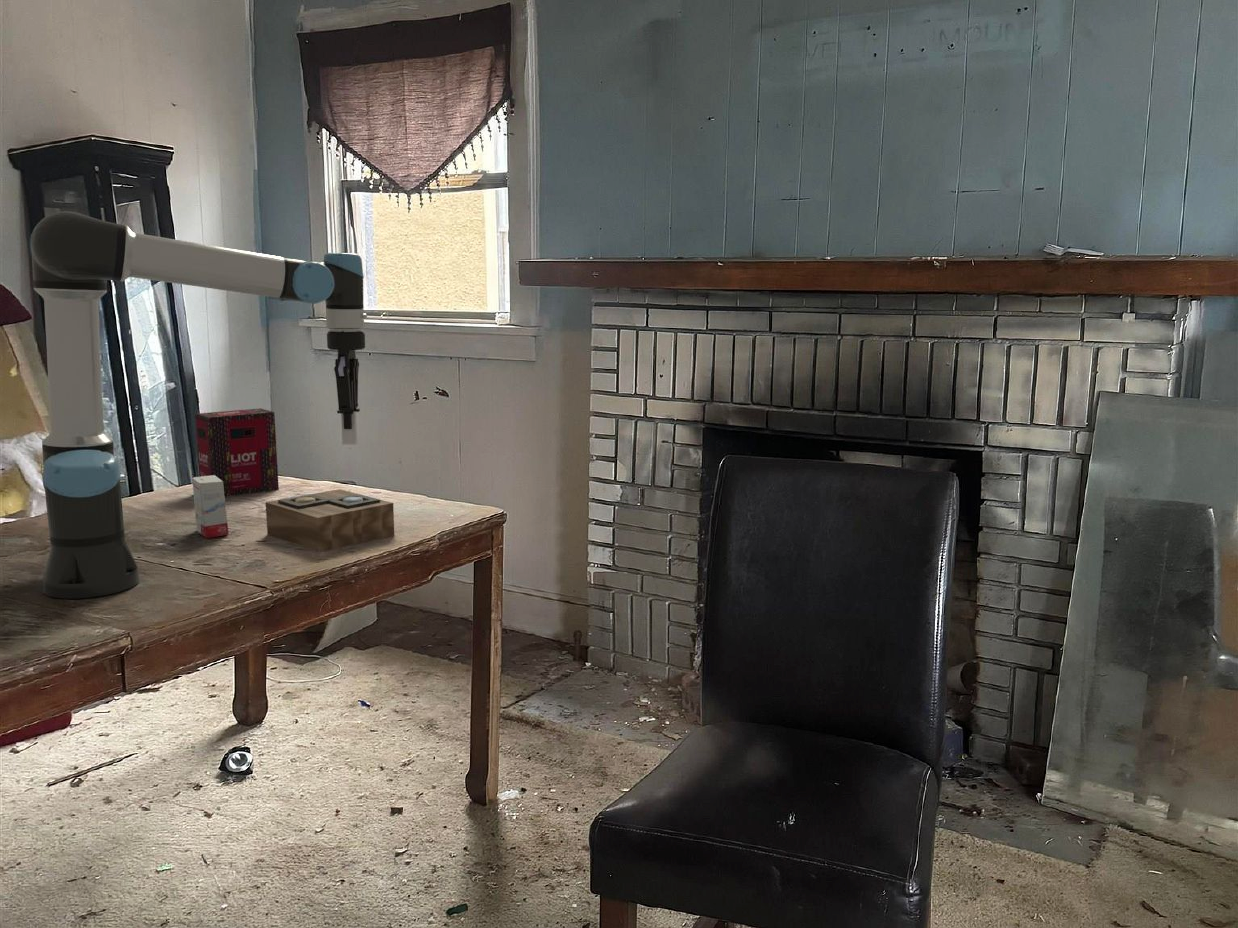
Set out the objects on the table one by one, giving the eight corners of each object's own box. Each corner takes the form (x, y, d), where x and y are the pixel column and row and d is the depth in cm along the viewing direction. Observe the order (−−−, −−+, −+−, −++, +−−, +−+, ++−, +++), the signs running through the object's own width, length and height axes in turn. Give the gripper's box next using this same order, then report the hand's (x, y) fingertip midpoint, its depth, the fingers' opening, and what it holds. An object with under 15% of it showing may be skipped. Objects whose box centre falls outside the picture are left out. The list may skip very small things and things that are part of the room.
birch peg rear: (303, 537, 212) (302, 502, 211) (293, 533, 215) (291, 499, 213) (320, 533, 215) (319, 499, 214) (310, 530, 218) (308, 496, 216)
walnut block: (319, 551, 202) (317, 514, 201) (267, 534, 215) (265, 499, 214) (394, 535, 215) (393, 500, 214) (341, 519, 228) (339, 486, 227)
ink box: (229, 536, 214) (225, 481, 212) (203, 539, 211) (199, 483, 209) (219, 527, 221) (216, 474, 219) (195, 530, 218) (191, 476, 216)
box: (265, 484, 266) (260, 408, 262) (278, 489, 259) (274, 412, 255) (200, 492, 255) (195, 413, 252) (212, 498, 249) (207, 417, 245)
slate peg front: (351, 536, 213) (350, 502, 211) (341, 533, 215) (339, 499, 214) (368, 533, 216) (366, 498, 214) (357, 530, 218) (355, 496, 217)
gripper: (358, 332, 201) (361, 449, 206) (370, 328, 214) (373, 439, 218) (319, 331, 201) (324, 449, 205) (334, 328, 214) (338, 438, 218)
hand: (349, 443), depth 212 cm, fingers closed
